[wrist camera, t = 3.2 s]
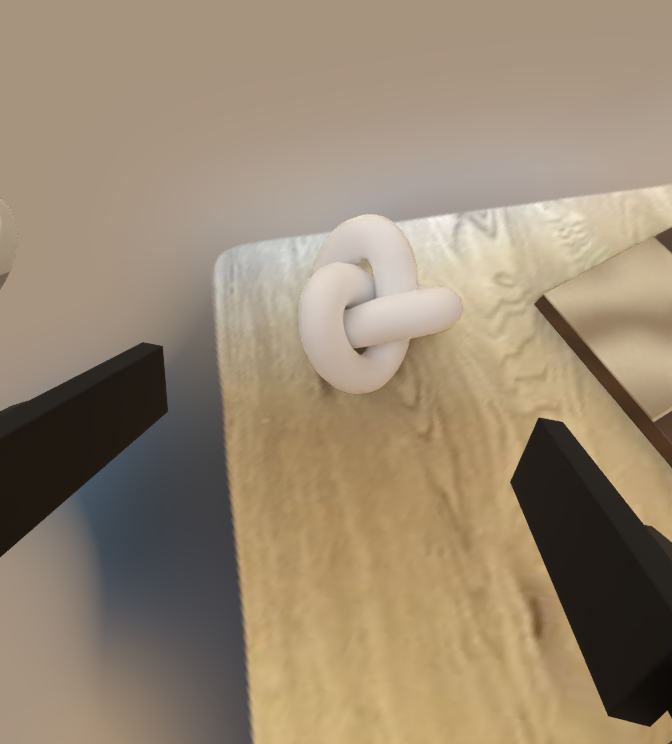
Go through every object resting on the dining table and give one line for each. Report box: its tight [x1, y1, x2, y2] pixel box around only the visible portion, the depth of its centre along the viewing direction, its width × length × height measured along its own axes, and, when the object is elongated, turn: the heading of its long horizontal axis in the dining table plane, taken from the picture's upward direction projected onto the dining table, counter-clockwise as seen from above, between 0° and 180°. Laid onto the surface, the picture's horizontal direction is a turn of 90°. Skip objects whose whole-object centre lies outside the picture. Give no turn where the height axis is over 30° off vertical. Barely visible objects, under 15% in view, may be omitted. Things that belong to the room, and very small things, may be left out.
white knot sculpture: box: [298, 214, 463, 394], centre depth 26 cm, size 11×12×9 cm
